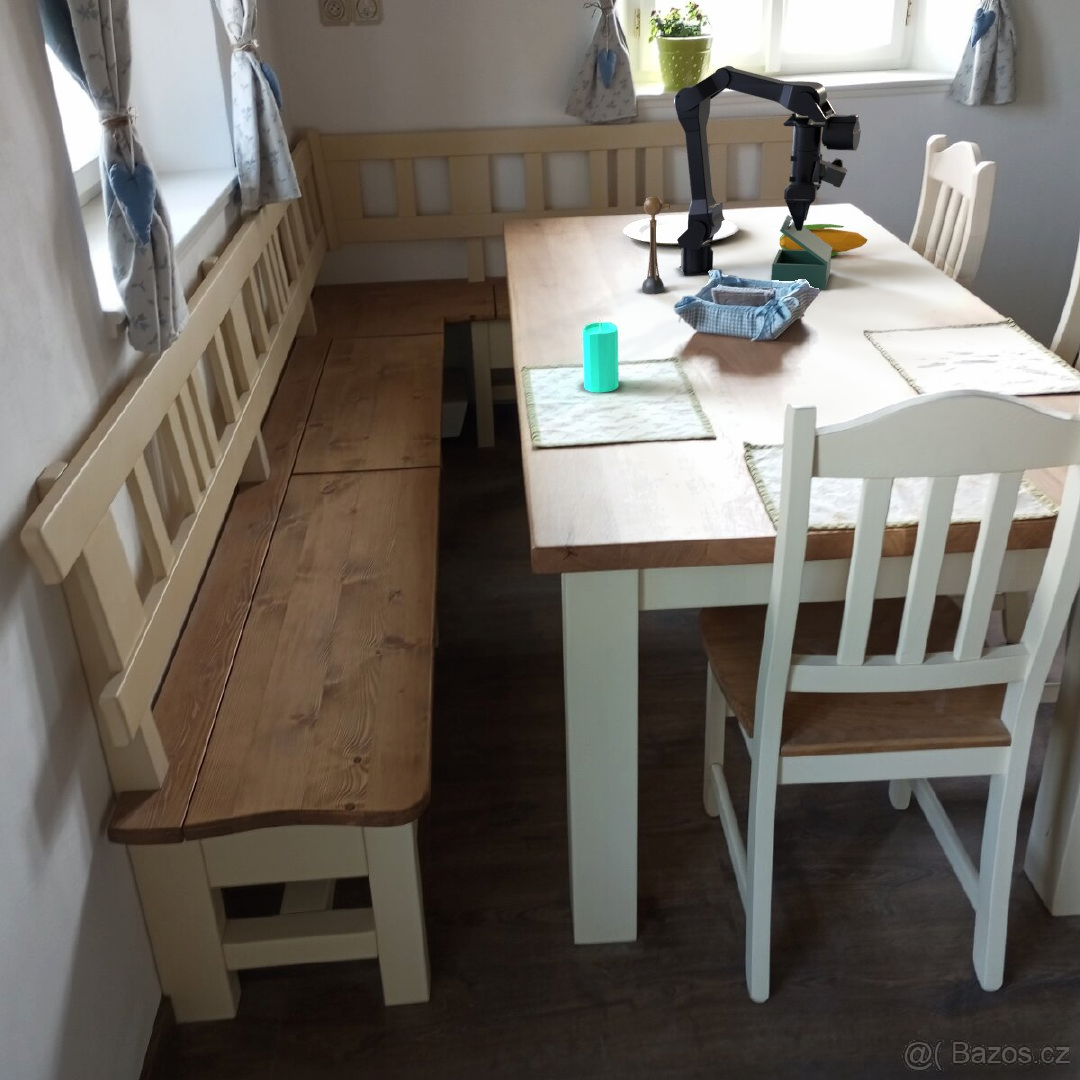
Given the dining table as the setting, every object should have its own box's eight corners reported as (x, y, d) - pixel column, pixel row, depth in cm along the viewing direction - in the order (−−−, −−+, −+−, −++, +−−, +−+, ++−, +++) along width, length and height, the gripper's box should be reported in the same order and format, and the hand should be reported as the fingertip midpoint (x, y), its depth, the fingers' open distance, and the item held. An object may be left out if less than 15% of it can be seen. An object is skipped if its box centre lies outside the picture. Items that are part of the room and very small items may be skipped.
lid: (779, 230, 229) (791, 215, 227) (786, 217, 239) (797, 202, 237) (826, 265, 229) (838, 250, 227) (830, 250, 240) (842, 235, 237)
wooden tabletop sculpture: (670, 287, 239) (671, 194, 229) (666, 294, 235) (667, 199, 225) (644, 287, 240) (643, 194, 231) (639, 293, 237) (639, 198, 227)
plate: (756, 227, 282) (756, 219, 282) (709, 254, 261) (709, 246, 260) (655, 218, 297) (655, 211, 296) (603, 243, 275) (602, 236, 275)
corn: (779, 219, 256) (866, 217, 254) (777, 251, 260) (863, 249, 258) (781, 229, 250) (871, 227, 248) (779, 261, 254) (867, 260, 252)
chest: (770, 288, 235) (772, 264, 233) (777, 272, 245) (778, 249, 243) (825, 290, 232) (826, 265, 229) (829, 274, 242) (831, 250, 240)
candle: (597, 377, 193) (596, 311, 187) (625, 384, 190) (624, 317, 184) (577, 388, 189) (574, 321, 183) (605, 395, 186) (603, 326, 180)
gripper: (843, 157, 215) (836, 237, 223) (849, 141, 231) (843, 216, 238) (786, 157, 219) (781, 235, 226) (795, 141, 234) (791, 215, 242)
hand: (801, 225), depth 233 cm, fingers open, 9 cm apart
